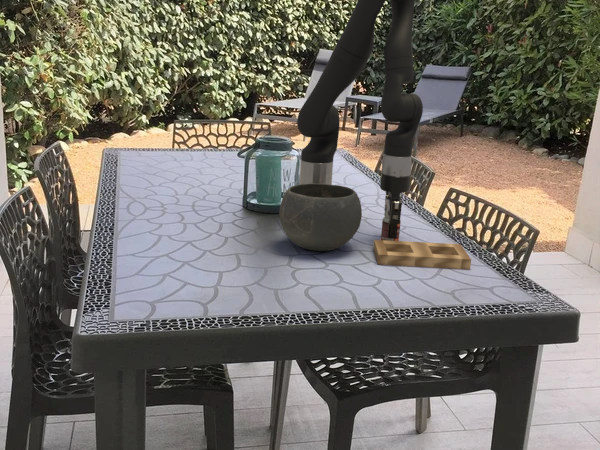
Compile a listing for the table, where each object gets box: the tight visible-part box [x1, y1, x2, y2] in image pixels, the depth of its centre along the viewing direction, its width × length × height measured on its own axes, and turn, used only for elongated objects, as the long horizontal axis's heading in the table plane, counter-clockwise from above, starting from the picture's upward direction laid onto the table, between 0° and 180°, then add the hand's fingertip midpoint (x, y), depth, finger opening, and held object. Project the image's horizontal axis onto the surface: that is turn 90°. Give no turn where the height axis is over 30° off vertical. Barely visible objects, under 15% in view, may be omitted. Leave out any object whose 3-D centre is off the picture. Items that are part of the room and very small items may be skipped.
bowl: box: [278, 183, 363, 252], centre depth 173 cm, size 20×20×15 cm
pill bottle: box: [380, 210, 402, 241], centre depth 182 cm, size 5×5×8 cm
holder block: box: [372, 239, 472, 270], centre depth 170 cm, size 22×12×2 cm, turn 89°
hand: (390, 233), depth 183 cm, fingers open, 7 cm apart
